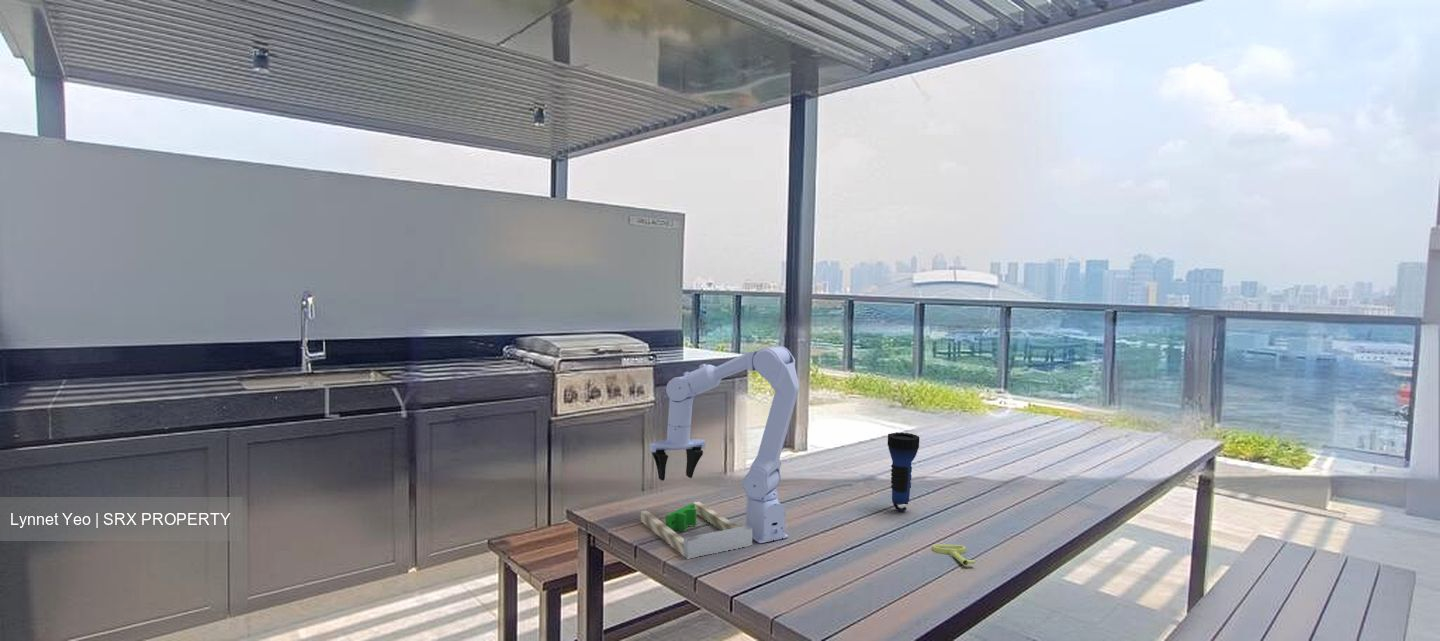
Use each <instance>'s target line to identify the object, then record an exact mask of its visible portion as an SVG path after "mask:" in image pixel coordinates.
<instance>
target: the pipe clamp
mask: <svg viewBox="0 0 1440 641" xmlns="http://www.w3.org/2000/svg"><path fill="white" fill-rule="evenodd" d="M665 525H667V526H668V527H669V528H670V529H672V530H673V531H674V530H675V531H676V529H677V531H680V530H682V531H681V532H684V531H685V530H686V531H687V527H688V526H687V525H694V526H693V527H696V526H697V514H696V509H695V504H693V503H690V504H688V505H685V506H683V507H681V508H678V509H677V510H675V511H673V512H671V513H668V514H666V515H665ZM695 525H696V526H695ZM686 526H687V527H686ZM675 531H674V532H675ZM686 531H685V532H686Z"/></svg>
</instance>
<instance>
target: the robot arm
mask: <svg viewBox="0 0 1440 641" xmlns="http://www.w3.org/2000/svg"><path fill="white" fill-rule="evenodd" d="M698 366H699V368H697V369H694V370H693V371H690V372H689V371H685V372H683V376H677V377H673V378H672V379H670V380H669V381H668V382H667V385H666V389H665V390H666V391H665V392H666V394H667V396H668V398H669V402H668V403H669V404H668V419H667V431H666V439H664V440H659V441H658V440H657V441H652V442H649V448H648V450H649V452H651V454H652V456H653V460H654V462H655V465H656V470H657V475H658V476H657V477H658V480H660V481H661V482H662V481H665V478H666V467H667V461H668V459H669V455H668V454H667V453H666V451H677V450H679V451H680V450H685V451H686V452H685V453H686V467H685V470H686V471H685V475H686V477H687V478H689V479H692V478H693V475H694V473H695V469H696V467H697V465H698V463H699V461H700V460H701V458H702V457H703V454H704V451H703V450H704V449H706V442H707V441H706V440H704V439H701V438H700V439H696V438H695V439H694V438H692V439H691V428H692V415H693V413H692V412H693V402H694V398H695V396H697V395H700V394H702V393H705V392H708V391H709V390H712V389H715V388H717V387H718V386H720V383H721V381H722V379H725V378H726V377H729V376H732V375H735V374H737V373H740V372H743V371H745V370H748V371H749V372H750V371H751V372H757V373H758V374H759V375H760V376H761V377H762V378H763V379H765V380H766V381H767V382H768V383H769V385H770V386H771V388H772V389H773V390H774V394H773V399H772V402H771V406H770V409H769V412H768V417H767V420H766V424H765V426H764V430H763V434H762V438H761V441H760V443H759V444H760V445H759V447H758V448H759V449H758V452H757V455H756V457H755V458H754V460H753V461H752V463H751V464H750V468H749V469H750V470H749V471H748V472H747V474H745V475H744V476H743V479H742V489H743V491H744V493H745V494H746V504H745V505H746V506H745V507H746V508H745V509H746V511H745V512H746V513H745V514H746V515H745V516H746V517H745V526H749V527H751V528H752V540H754V541H755V542H757V543H758V544H762V543H763V544H764V543H767V542H773V540H774V541H779V540H782V538H783V539H787V537H788V538H789V534H786V510H785V507H784V506H783V504H781V503H780V501H779V500H778V499H779V498H778V491H777V488H778V486H779V485H780V483H781V481H782V475H781V467H782V462H781V460H780V457H781V454H782V451H783V448H784V444H785V440H786V437H787V434H788V430H789V426H790V423H791V420H792V416H793V413H794V409H795V405H796V402H797V398H798V395H799V391H800V384H799V383H800V382H799V380H798V379H799V378H798V375H797V370H796V358H794V356H793V354H792V353H791V351H790V350H789V349H788V348H787V347H785V346H782V345H775V346H773V347H763V348H761V349H758V350H753V351H749V352H745V353H743V354H741V355H739V356H736V357H734V358H732V359H730V360H728V361H726V362H724V363H721V364H719V365H717V366H716V365H712V364H710V363H709V364H707V363H703V364H700V365H698Z"/></svg>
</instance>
